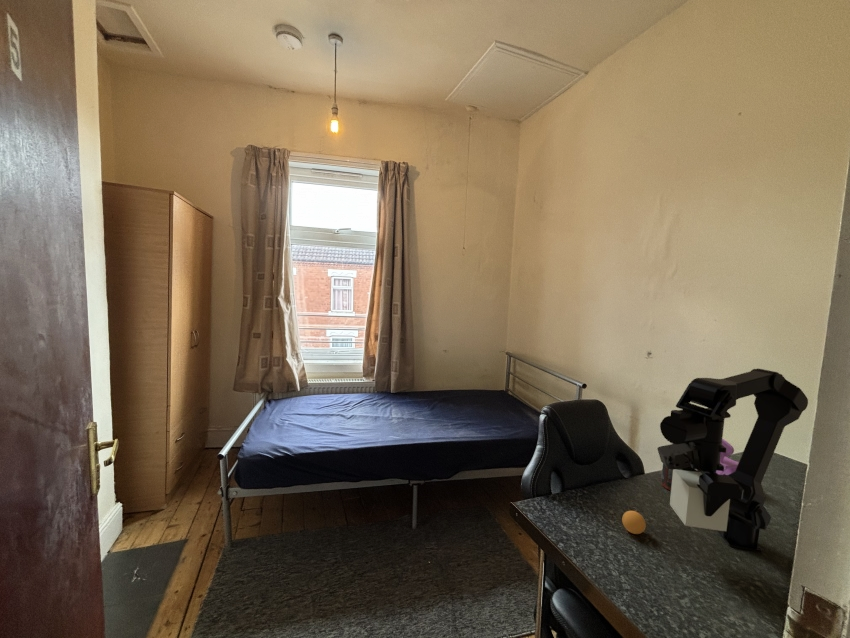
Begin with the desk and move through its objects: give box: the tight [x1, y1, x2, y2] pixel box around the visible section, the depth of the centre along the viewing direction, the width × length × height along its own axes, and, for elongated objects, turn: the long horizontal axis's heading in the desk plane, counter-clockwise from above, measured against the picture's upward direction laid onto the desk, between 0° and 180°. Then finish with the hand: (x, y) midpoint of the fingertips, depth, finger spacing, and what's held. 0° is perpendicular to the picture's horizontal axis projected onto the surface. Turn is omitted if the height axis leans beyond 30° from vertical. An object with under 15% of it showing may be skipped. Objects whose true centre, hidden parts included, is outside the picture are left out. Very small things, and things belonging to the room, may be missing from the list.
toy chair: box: [716, 438, 739, 475], centre depth 114 cm, size 8×9×15 cm
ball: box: [621, 510, 647, 535], centre depth 90 cm, size 5×5×5 cm
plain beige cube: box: [669, 469, 730, 531], centre depth 82 cm, size 8×8×9 cm
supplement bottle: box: [660, 463, 681, 491], centre depth 110 cm, size 6×6×11 cm
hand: (698, 504), depth 82 cm, fingers closed on plain beige cube, 8 cm apart
